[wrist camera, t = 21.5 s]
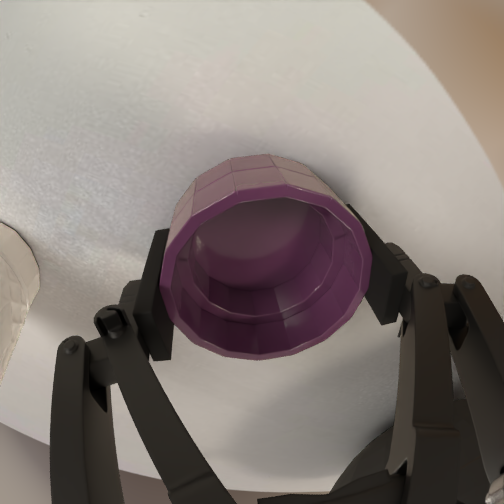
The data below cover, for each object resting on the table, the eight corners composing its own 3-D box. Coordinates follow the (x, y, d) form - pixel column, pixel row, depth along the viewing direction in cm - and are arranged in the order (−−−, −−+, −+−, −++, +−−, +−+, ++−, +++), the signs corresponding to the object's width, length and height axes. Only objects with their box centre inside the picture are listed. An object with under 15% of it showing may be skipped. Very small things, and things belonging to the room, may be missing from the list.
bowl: (517, 375, 38) (564, 457, 21) (365, 477, 49) (388, 557, 32) (490, 280, 22) (609, 449, 6) (228, 459, 34) (244, 600, 17)
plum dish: (156, 166, 15) (134, 207, 11) (335, 144, 15) (380, 175, 11) (190, 306, 20) (188, 369, 15) (331, 285, 20) (359, 341, 16)
